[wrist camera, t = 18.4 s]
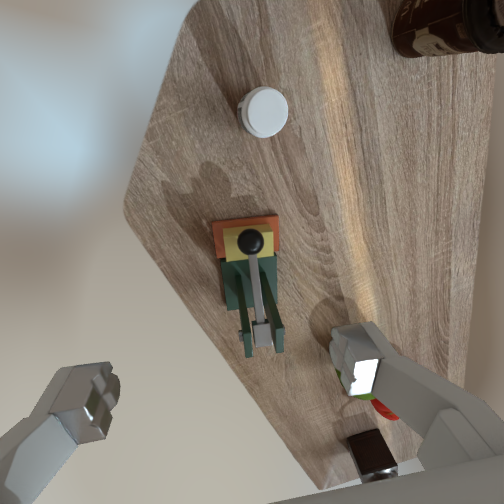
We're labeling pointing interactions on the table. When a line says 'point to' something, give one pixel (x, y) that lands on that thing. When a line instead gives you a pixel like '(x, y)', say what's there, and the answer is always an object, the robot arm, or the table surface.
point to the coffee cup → (448, 27)
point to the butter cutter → (242, 297)
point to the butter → (230, 230)
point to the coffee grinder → (372, 456)
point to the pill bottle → (262, 112)
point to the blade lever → (255, 284)
